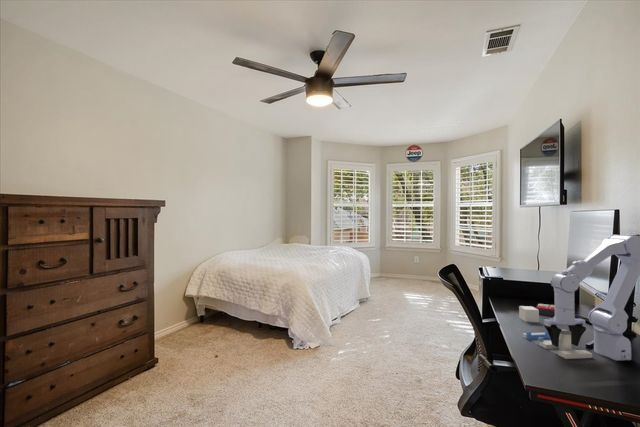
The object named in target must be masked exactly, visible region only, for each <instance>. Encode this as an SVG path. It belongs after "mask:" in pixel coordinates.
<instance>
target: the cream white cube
mask: <svg viewBox="0 0 640 427" xmlns="http://www.w3.org/2000/svg"><path fill="white" fill-rule="evenodd" d="M518 314H519V315H518V317H519V319H521V320H522V321H523V322H524V323H540V314H539V310H538V309H536V307H534V306H531V305H529V306H528V305H526V306H525V305H519V306H518Z"/></svg>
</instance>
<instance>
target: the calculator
mask: <svg viewBox="0 0 640 427" xmlns="http://www.w3.org/2000/svg"><path fill="white" fill-rule="evenodd" d="M535 308H536V309H538V310H539V316H540V315H541V316H548V317H554V316H555V304H547V303H546V304H544V303H538V304H537V305H536V307H535Z"/></svg>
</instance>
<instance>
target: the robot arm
mask: <svg viewBox="0 0 640 427" xmlns="http://www.w3.org/2000/svg"><path fill="white" fill-rule="evenodd" d="M613 255H615V256H616V257H617V258H618V259H619V260H620V262H621V263H620V265H619V267H618V270H617V272H616V274H615V276H614V278H613V280H612V283H611V284H610V287H609V289H608V291H607V294H606V296H605V298H604V300H603V301H601V302H599V303H597V304H596V305H595V306H594V308H593V309H592V310H590V311H589V312H588V316H587V318H588V321H589V323H591V325H592V328H593V351H594V352H595V353H596V354H598V355H601V356H604V357H607V358H609V359H611V360H614V361H631V360H632V343H631V341H630V339H629V338H627V337H626V336H624V334H623V333H624V332H626V330H627V328H628V319H629V315H628V314H627V312H626V311H625V307H626V305H627V303H628V301H629V298H630V296H631V294H632V293H633V290H634V289H635V288H634V287H635V286H636V283H637V281H638V279H639V277H640V236H639V235H626V234H625V235H622V234H621V235H620V234H615V233H614V234H610V235H609V236H608V237H606V238H605V239H603V240H602V242H601V244H600V245H599V246H598V247H597V248H596V249H595V250H594V251H592V252H591V254H589V255H588V256H587V257H586V258H585V259H584V260H577V261H576V260H574V261H572V262H571V265H570V266H568V267H567V268H566V269H564V270H562V271H561V273H556V274H554V276H552V278H551V279H550V281H549V282H550V285H551V287H553V292H554V293H553V294H554V295H553V296H554V305H555V316H553V317H552V318H551V317H550V318H547V319H543V326H544V328H545V331H547V332H548V334H549V336H550V339H551V343H552V345H554V346H556V347H558V346H559V336H560V332H561V329H562V328H559V327H558V326H567V327H568V330H569V331H571V345H573V346H576V347H578V346H579V343H580V341H581V338H582V336H583V334H584V333H585V332H586V330H587V327H586V320H585V319H583V318H577V317H576V314H575V292H576V291H578V289H579V288H580V284H581V282H582V281H584V280H585V279H586V278H587V277H589V276H590V275H591V274H593V273H594V267H596V266H598V265H599V264H601V263H602V262H604V261H605V260H607V259H608V258H610V257H611V256H613Z"/></svg>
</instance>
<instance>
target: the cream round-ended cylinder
mask: <svg viewBox="0 0 640 427" xmlns="http://www.w3.org/2000/svg"><path fill="white" fill-rule="evenodd" d="M560 329H561V332H560V336H559V351H571V348H572V344H571V331H570V330H569V329H565V328H560Z"/></svg>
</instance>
